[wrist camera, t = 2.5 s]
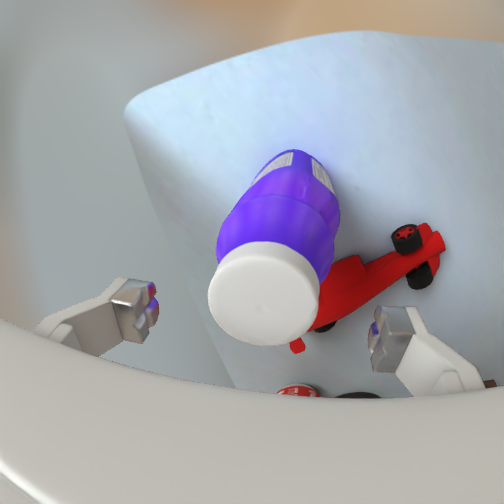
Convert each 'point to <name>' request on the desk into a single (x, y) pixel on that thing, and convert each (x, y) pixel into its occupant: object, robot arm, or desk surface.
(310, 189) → the bottle
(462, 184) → the desk surface
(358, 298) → the toy car
